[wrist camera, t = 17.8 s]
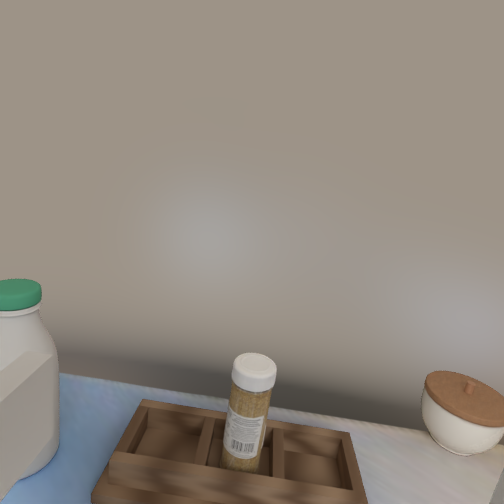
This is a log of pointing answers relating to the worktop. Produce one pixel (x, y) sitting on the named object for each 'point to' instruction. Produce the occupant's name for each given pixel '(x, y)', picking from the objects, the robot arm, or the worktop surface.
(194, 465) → the wooden compartment tray
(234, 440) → the spice bottle
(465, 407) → the lidded jar
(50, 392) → the robot arm
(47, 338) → the milk bottle
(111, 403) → the worktop surface
